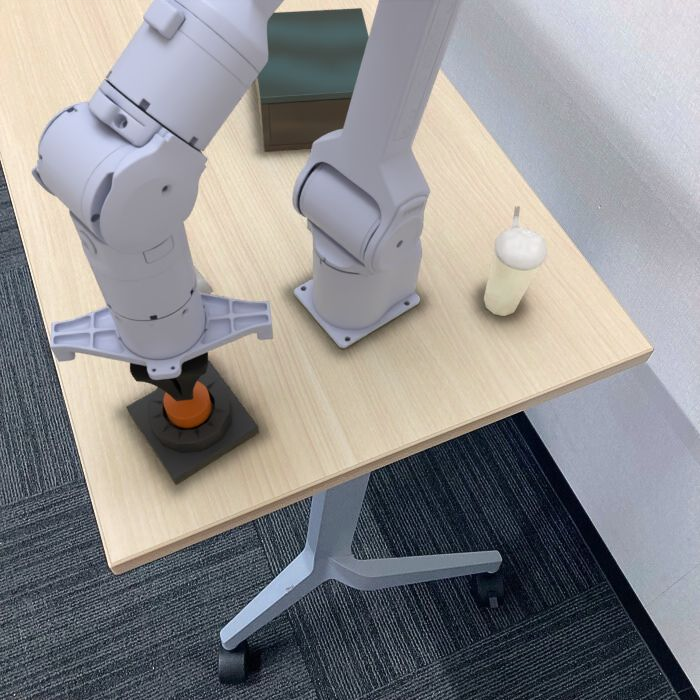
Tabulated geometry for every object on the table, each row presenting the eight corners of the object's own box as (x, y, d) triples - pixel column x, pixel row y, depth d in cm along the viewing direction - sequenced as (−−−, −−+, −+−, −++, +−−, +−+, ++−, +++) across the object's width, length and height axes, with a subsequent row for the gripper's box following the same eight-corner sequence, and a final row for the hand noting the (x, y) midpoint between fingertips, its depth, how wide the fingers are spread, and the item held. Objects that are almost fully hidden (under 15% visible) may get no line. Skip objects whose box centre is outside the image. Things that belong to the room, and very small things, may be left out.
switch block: (210, 366, 64) (206, 348, 61) (259, 432, 60) (257, 416, 58) (128, 413, 61) (120, 396, 58) (175, 485, 58) (169, 470, 55)
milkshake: (515, 275, 71) (543, 204, 62) (529, 320, 68) (559, 252, 59) (470, 278, 70) (492, 207, 62) (482, 323, 67) (506, 255, 59)
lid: (249, 20, 79) (249, 13, 79) (361, 14, 81) (361, 7, 80) (260, 104, 73) (260, 97, 72) (381, 96, 74) (382, 90, 74)
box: (254, 78, 85) (250, 29, 80) (359, 71, 86) (362, 23, 81) (264, 151, 78) (260, 104, 73) (377, 143, 80) (381, 96, 74)
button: (197, 381, 60) (194, 371, 58) (220, 413, 58) (217, 403, 57) (158, 404, 58) (155, 393, 57) (181, 436, 57) (177, 427, 56)
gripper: (22, 350, 41) (86, 447, 53) (273, 324, 43) (282, 423, 54) (31, 255, 45) (89, 366, 56) (262, 235, 47) (273, 346, 58)
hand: (183, 389), depth 56 cm, fingers closed
